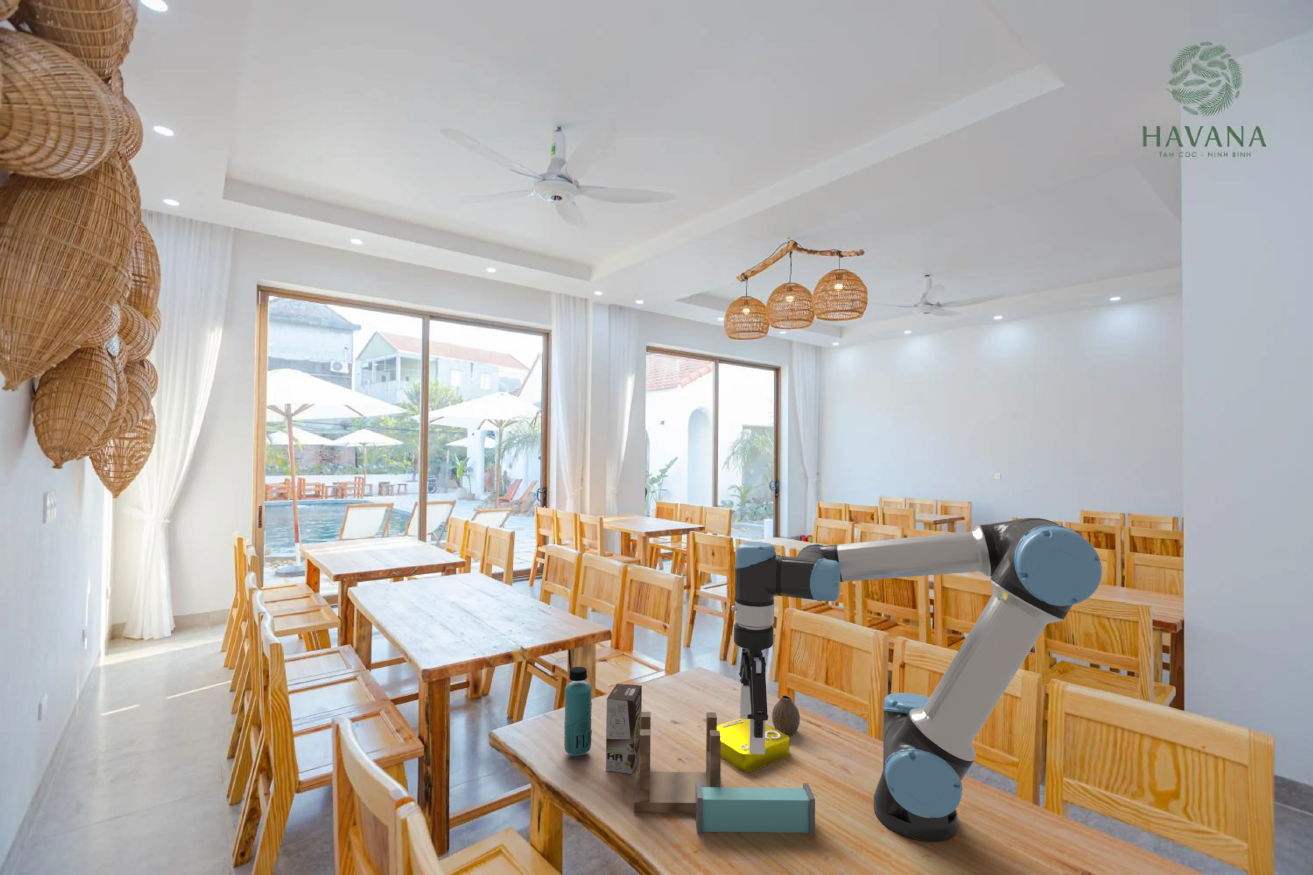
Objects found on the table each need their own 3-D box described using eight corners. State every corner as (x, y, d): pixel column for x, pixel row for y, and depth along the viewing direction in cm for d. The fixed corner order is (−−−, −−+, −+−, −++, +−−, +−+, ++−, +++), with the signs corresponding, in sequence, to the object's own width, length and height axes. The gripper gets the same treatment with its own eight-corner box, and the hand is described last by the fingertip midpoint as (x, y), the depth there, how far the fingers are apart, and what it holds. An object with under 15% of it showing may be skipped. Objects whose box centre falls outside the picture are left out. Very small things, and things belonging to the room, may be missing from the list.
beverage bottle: (573, 765, 135) (574, 676, 136) (557, 753, 140) (558, 667, 140) (597, 755, 140) (598, 669, 140) (581, 744, 145) (582, 661, 145)
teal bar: (807, 816, 118) (808, 783, 118) (814, 834, 112) (815, 798, 112) (695, 815, 118) (695, 782, 118) (697, 833, 112) (697, 797, 112)
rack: (719, 781, 130) (720, 711, 130) (725, 813, 119) (726, 736, 119) (636, 780, 130) (636, 710, 130) (634, 812, 119) (634, 735, 119)
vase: (803, 729, 153) (803, 695, 153) (794, 741, 147) (794, 705, 147) (777, 722, 157) (778, 689, 157) (767, 733, 151) (767, 698, 151)
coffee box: (633, 774, 132) (633, 700, 132) (604, 771, 133) (605, 698, 133) (642, 753, 141) (643, 684, 141) (615, 750, 142) (616, 682, 142)
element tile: (749, 730, 153) (749, 711, 153) (793, 756, 141) (793, 735, 141) (703, 746, 145) (703, 726, 145) (745, 775, 133) (745, 754, 133)
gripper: (727, 605, 128) (725, 704, 128) (742, 645, 103) (740, 769, 103) (762, 606, 128) (761, 705, 128) (786, 646, 103) (784, 770, 103)
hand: (751, 734), depth 116 cm, fingers open, 13 cm apart
